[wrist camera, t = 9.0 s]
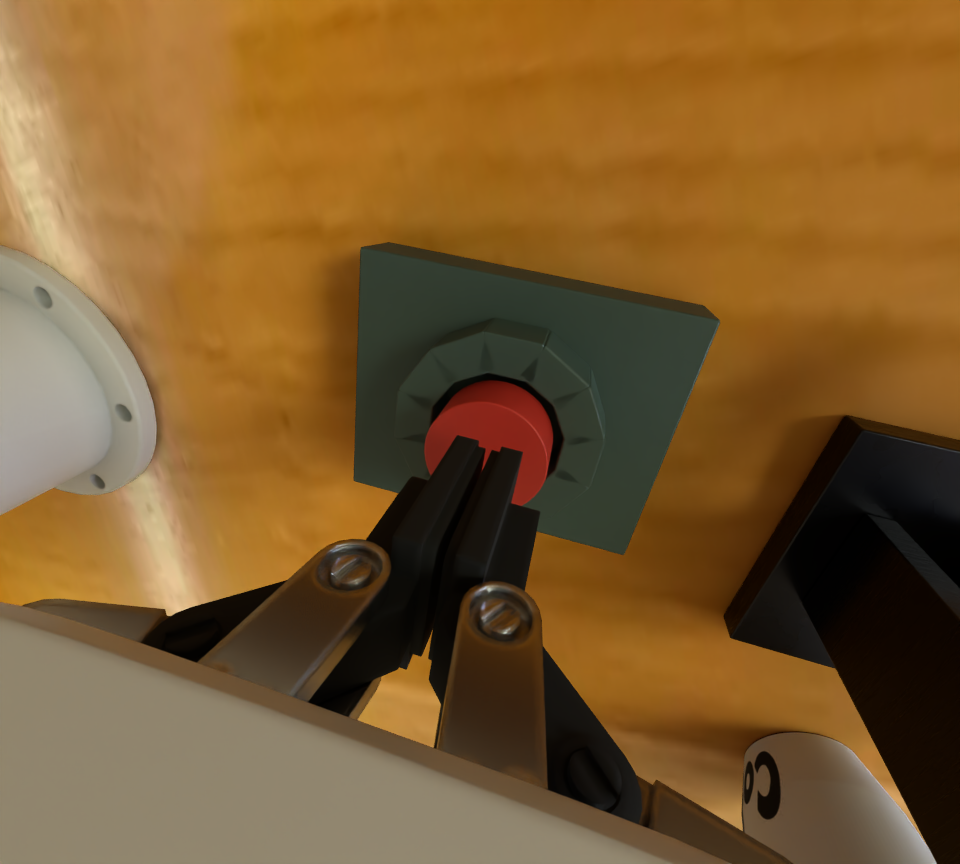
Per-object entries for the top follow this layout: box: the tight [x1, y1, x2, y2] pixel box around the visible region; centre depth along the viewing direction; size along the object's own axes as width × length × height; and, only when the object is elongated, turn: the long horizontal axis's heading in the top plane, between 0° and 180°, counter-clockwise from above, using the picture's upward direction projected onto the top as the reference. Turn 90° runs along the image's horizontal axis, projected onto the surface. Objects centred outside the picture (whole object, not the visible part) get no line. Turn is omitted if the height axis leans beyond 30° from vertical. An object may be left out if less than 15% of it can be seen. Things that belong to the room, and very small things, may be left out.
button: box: [424, 380, 553, 506], centre depth 14 cm, size 4×4×2 cm
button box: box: [354, 242, 720, 555], centre depth 16 cm, size 11×9×4 cm
